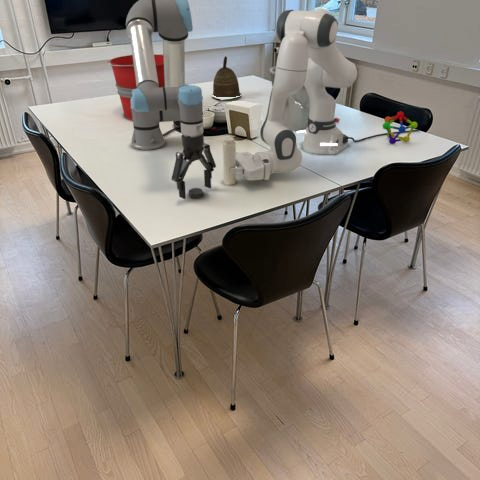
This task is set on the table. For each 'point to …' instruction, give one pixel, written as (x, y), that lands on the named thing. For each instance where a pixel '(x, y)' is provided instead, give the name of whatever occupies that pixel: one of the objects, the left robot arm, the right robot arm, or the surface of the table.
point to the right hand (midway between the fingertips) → (227, 167)
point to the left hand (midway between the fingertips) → (195, 192)
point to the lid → (195, 193)
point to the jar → (229, 160)
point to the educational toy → (398, 128)
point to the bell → (225, 82)
